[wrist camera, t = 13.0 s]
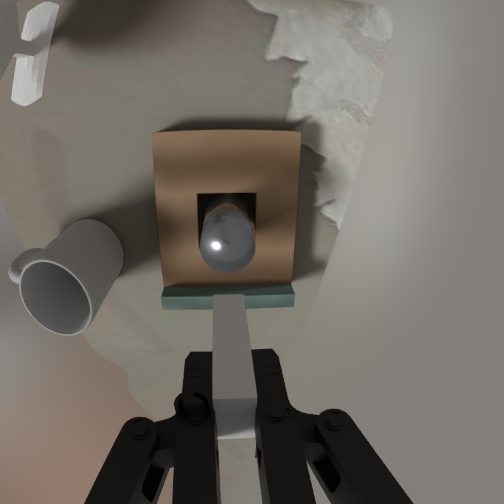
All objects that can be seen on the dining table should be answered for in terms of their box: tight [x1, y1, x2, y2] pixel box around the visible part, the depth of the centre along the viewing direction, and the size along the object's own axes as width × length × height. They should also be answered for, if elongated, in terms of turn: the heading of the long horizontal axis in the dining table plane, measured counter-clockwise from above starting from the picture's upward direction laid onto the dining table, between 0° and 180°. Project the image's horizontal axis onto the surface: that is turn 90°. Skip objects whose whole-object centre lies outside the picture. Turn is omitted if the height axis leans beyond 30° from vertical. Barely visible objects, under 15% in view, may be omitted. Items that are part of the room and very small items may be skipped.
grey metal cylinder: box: [200, 193, 256, 273], centre depth 30 cm, size 4×4×10 cm
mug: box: [9, 219, 124, 336], centre depth 29 cm, size 12×8×11 cm
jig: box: [153, 129, 301, 310], centre depth 32 cm, size 18×14×5 cm
